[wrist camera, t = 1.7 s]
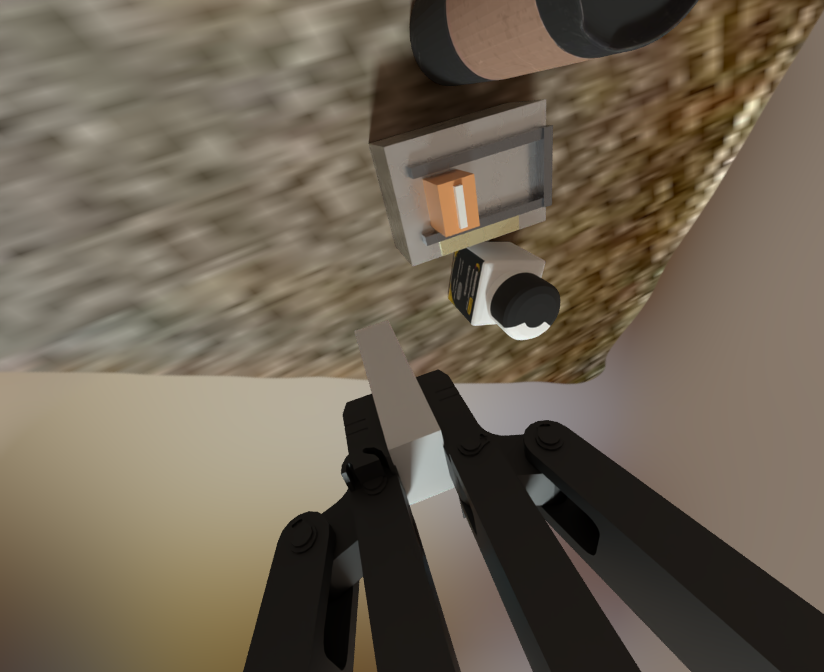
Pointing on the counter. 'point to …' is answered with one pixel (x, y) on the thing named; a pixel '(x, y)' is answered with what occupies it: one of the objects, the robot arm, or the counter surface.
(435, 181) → the toggle
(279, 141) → the counter surface
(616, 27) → the travel mug
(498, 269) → the medicine bottle
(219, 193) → the counter surface
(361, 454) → the robot arm
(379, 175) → the grey boxy piece
